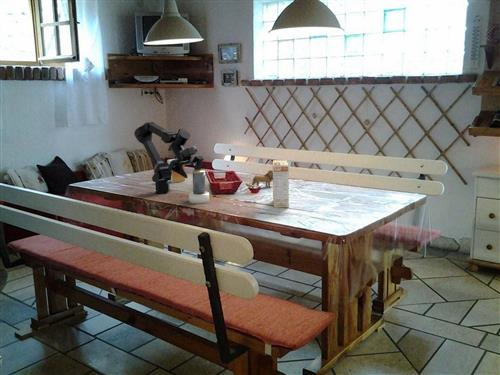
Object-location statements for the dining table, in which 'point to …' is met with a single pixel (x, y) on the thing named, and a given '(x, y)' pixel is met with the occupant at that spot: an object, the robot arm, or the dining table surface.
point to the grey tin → (198, 182)
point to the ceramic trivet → (199, 198)
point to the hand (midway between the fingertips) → (194, 176)
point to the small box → (176, 175)
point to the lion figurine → (264, 179)
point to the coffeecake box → (280, 183)
